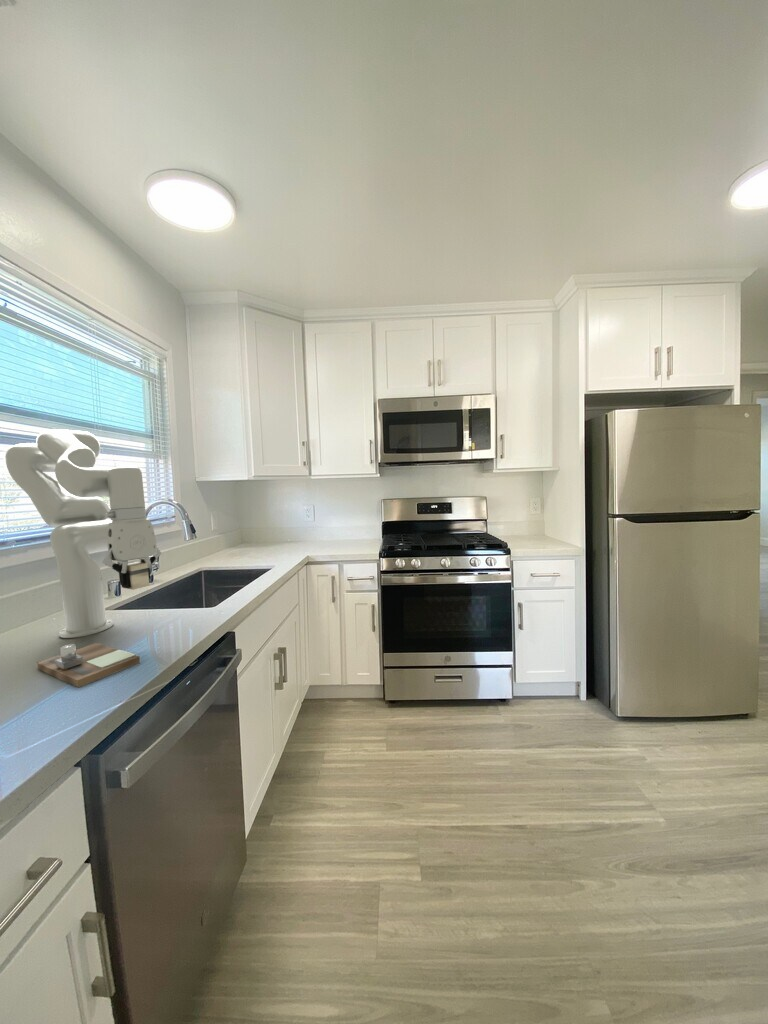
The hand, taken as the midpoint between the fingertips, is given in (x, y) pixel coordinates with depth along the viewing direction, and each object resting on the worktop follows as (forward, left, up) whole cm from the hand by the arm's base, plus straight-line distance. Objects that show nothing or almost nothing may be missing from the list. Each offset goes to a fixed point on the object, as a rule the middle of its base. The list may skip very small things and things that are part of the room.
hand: (136, 584), depth 103 cm
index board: (+4, -14, -15) cm, 21 cm away
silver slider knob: (+4, -18, -13) cm, 22 cm away
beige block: (0, 0, -1) cm, 1 cm away
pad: (+9, -11, -13) cm, 20 cm away
